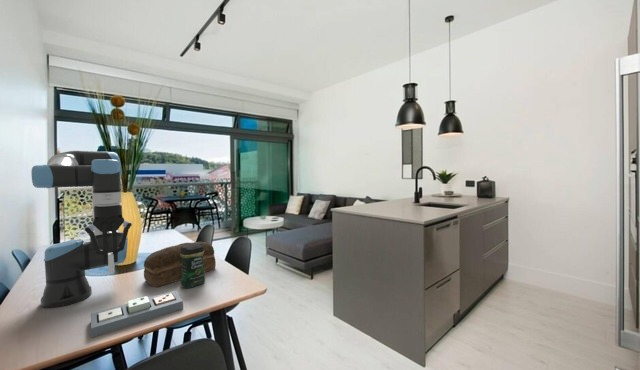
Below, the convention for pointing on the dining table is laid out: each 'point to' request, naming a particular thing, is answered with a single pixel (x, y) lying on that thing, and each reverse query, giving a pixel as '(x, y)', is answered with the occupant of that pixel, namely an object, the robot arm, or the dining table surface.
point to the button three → (163, 299)
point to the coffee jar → (192, 265)
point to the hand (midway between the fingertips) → (111, 271)
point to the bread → (172, 264)
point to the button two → (138, 304)
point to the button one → (110, 314)
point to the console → (133, 315)
